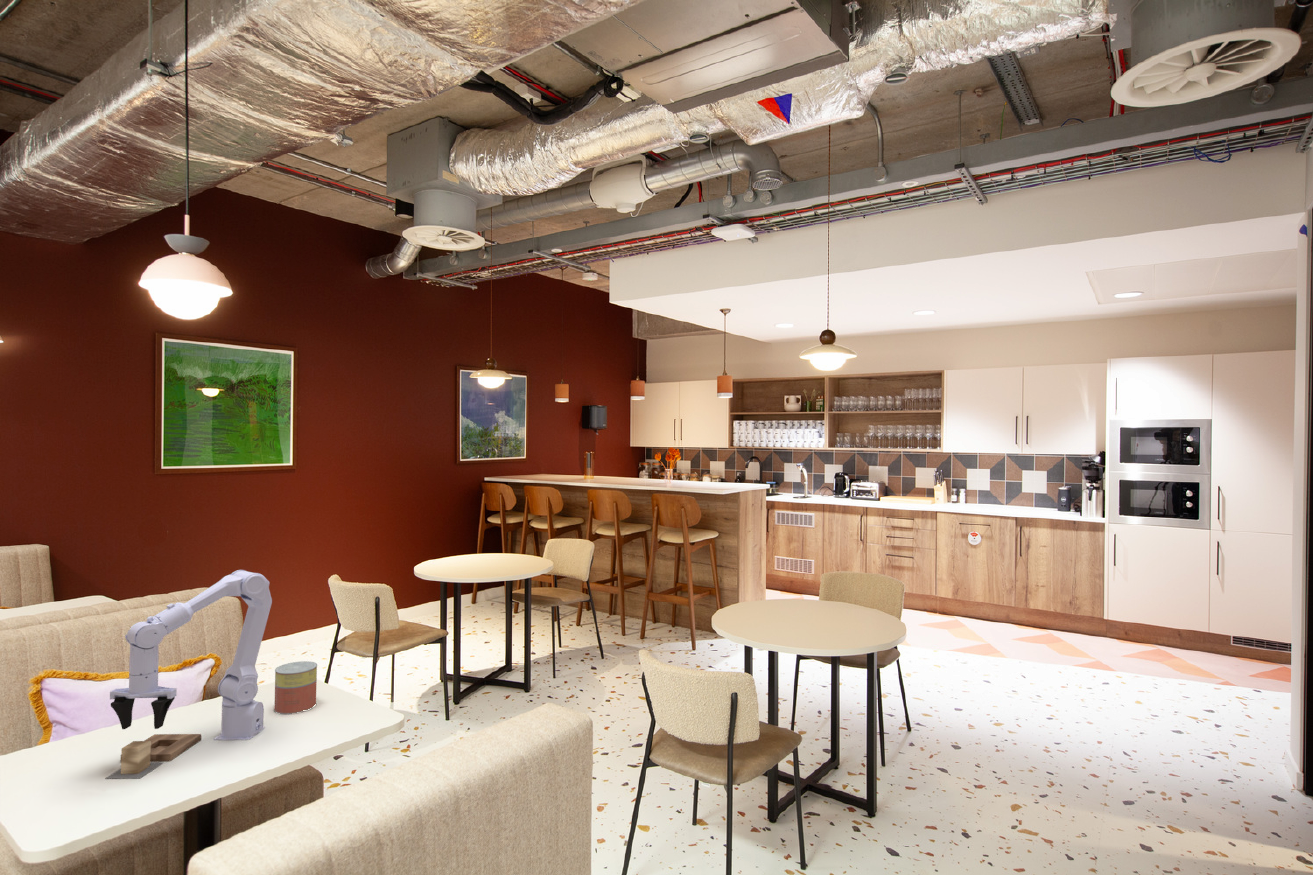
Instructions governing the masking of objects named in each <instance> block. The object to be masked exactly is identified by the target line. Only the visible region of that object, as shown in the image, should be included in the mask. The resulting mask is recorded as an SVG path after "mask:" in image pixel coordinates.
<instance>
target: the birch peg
mask: <svg viewBox="0 0 1313 875" xmlns="http://www.w3.org/2000/svg"><path fill="white" fill-rule="evenodd" d="M150 752H151V741H144V740H133V741H132V742H129V743H128V744H127V745H125V746H123V747H121V753H120V769H121V774H139V773H140V772H142V771H143V770H145V769H146V768H148V767H149V766H150V762H151V761H150Z"/></svg>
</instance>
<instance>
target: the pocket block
mask: <svg viewBox="0 0 1313 875" xmlns="http://www.w3.org/2000/svg"><path fill="white" fill-rule="evenodd" d="M143 741H151V752H150V762H172V761H173V760H174V759H176V758H177V757H179V756H180V755H181V754H183V753H184V752H186V751H187V750H189V749H190V748H192V747H193V746H196V744H198V743H199V742H201V741H202V733H168V734H167V733H166V734H165V733H162V734H161V733H156V734H153V735H151V736H150V737H148V738H146V739H144V740H143Z"/></svg>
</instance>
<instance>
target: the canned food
mask: <svg viewBox="0 0 1313 875" xmlns="http://www.w3.org/2000/svg"><path fill="white" fill-rule="evenodd" d="M317 670H318V664H317V663H316V662H314V661H308V660H307V661H304V660H301V661H295V662H288V663H284V664H282V665H279V666H277V667H275V669H274V675H275V676H274V708H273V711H274V710H275V711H274V712H275V713H276V712H277V713H276V714H278V713H280V714H279V715H293V714H292V713H296V714H298V713H297V712H301V711H303V710H308V709H310V708H312V707H313V706H314V705H315V704H316V705H317V675H318V673H317V672H318V671H317ZM312 709H313V708H312ZM310 710H311V709H310ZM308 711H309V710H308ZM301 713H302V712H301Z"/></svg>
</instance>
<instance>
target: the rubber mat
mask: <svg viewBox="0 0 1313 875" xmlns="http://www.w3.org/2000/svg"><path fill="white" fill-rule="evenodd" d="M164 762H165V761H150V766H149V767H148V768H146V769H145V770H143V771H142V772H140V773H139V774H121V768H119V769H118V770H116V771H114V772H113V773H111V774H110V775H108V776H107V777H105V778H104V780H141V779H142V778H144V777H145V776H147V775H148V774H149V773H151V772H153V771H154V770H156V769H157V768H158V767H159V766H160V767H161V765H162V764H165V763H164Z"/></svg>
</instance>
